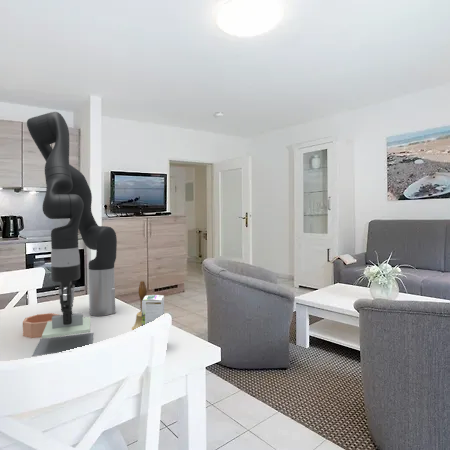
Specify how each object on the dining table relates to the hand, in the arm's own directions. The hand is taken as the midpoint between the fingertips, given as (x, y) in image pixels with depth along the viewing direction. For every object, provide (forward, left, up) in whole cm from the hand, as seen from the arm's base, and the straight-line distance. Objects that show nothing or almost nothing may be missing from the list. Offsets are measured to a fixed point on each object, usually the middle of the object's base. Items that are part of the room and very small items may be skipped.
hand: (68, 322), depth 99 cm
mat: (+1, 0, -7) cm, 7 cm away
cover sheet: (0, 0, -2) cm, 2 cm away
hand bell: (-22, -6, -7) cm, 24 cm away
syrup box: (-23, +10, -7) cm, 26 cm away
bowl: (+9, -13, -7) cm, 17 cm away
